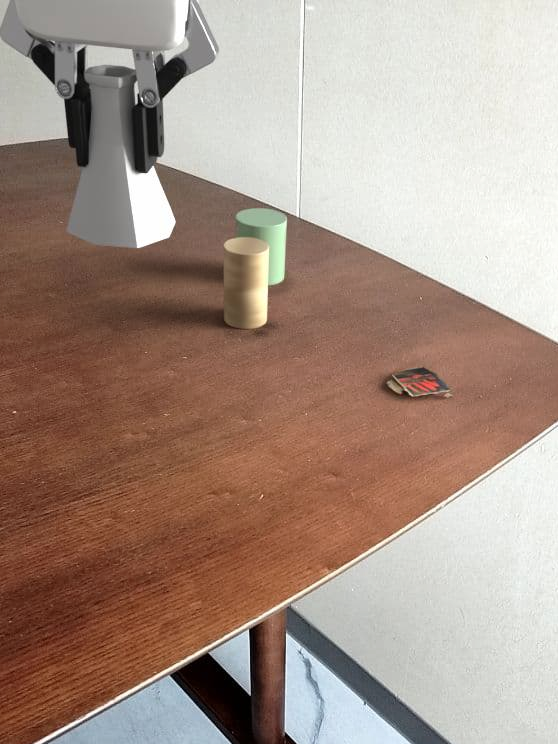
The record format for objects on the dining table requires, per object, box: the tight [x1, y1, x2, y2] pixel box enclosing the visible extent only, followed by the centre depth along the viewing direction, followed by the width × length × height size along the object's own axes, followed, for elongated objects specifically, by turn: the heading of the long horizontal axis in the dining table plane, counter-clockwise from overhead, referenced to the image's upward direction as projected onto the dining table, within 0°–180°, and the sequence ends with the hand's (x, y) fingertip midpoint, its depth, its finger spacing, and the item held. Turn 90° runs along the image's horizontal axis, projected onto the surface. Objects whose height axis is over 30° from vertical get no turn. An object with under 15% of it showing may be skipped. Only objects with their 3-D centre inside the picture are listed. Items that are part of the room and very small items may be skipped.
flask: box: [65, 64, 176, 249], centre depth 57 cm, size 7×7×10 cm
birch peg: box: [223, 237, 269, 330], centre depth 78 cm, size 4×4×7 cm
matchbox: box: [386, 365, 457, 398], centre depth 72 cm, size 5×5×1 cm
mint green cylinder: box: [235, 207, 288, 287], centre depth 86 cm, size 5×5×6 cm
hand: (117, 160), depth 57 cm, fingers closed on flask, 3 cm apart
